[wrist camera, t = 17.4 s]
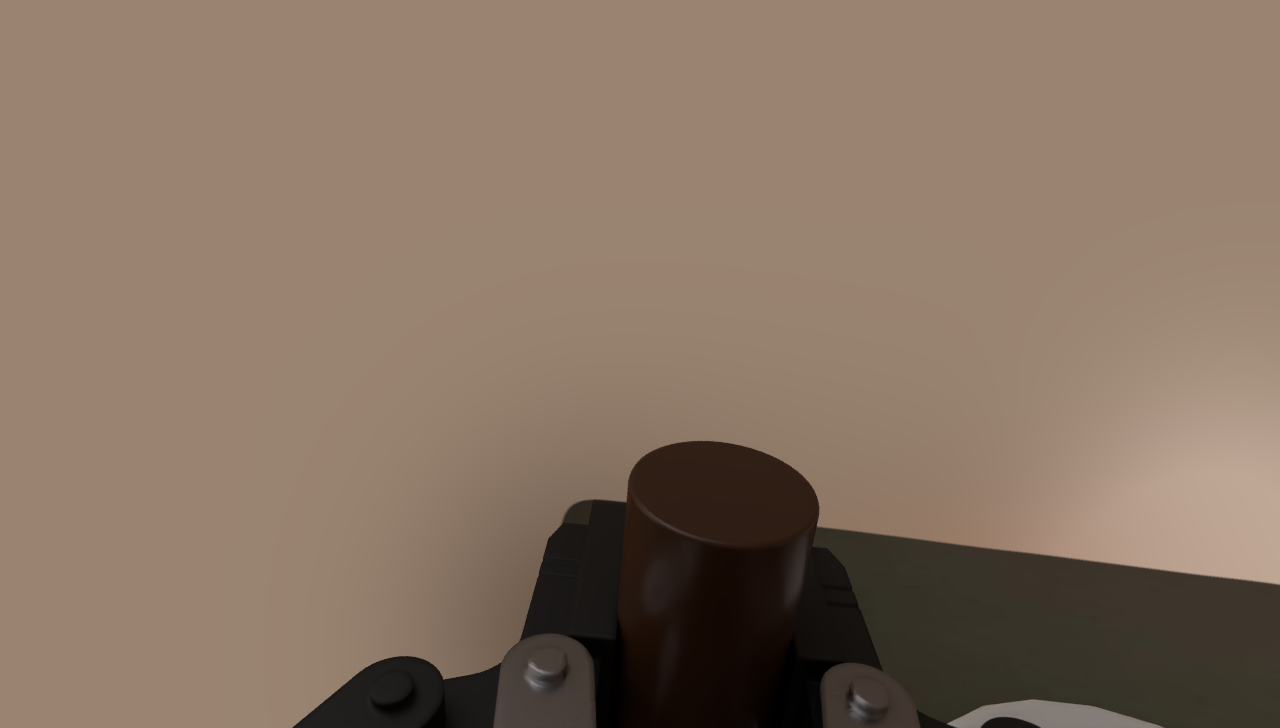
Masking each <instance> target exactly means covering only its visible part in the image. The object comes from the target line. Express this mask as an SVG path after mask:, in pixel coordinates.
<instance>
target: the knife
mask: <svg viewBox="0 0 1280 728" xmlns="http://www.w3.org/2000/svg"><path fill="white" fill-rule="evenodd" d="M818 517H819V503H818V499H817V496H816V494H815V491H814V490H813V488H812V486H811V485H810V483H809V482H808V481H807V480H806V479H805V478H804V477H803V476H802V475H801V474H800V473H799V472H797V471H796V470H795V469H794V468H792V467H791V466H789V465H788V464H786V463H784V462H783V461H781V460H779V459H777V458H775V457H773V456H770V455H768V454H766V453H763V452H761V451H758V450H754V449H751V448H747V447H744V446H740V445H735V444H730V443H723V442H713V441H691V442H682V443H676V444H671V445H667V446H664V447H661V448H658V449H656V450H653V451H652V452H650V453H648V454H646V455H645V456H644V457H642V458H641V459H640V460H639V461H638V462H637V464H636V465H635V466H634V468H633V470H632V471H631V474H630V477H629V480H628V491H627V503H626V514H625V525H624V536H623V547H622V559H621V570H620V581H619V592H618V605H617V612H618V624H617V635H616V646H615V657H614V668H613V679H612V690H611V702H610V713H609V724H608V728H772V726H773V722H774V717H775V713H776V708H777V704H778V699H779V694H780V690H781V685H782V681H783V676H784V672H785V667H786V663H787V658H788V654H789V649H790V645H791V640H792V635H793V631H794V626H795V622H796V617H797V613H798V608H799V604H800V599H801V595H802V590H803V586H804V581H805V576H806V572H807V567H808V563H809V558H810V554H811V549H812V545H813V540H814V536H815V531H816V527H817V522H818Z"/></svg>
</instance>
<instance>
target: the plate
mask: <svg viewBox="0 0 1280 728" xmlns="http://www.w3.org/2000/svg"><path fill="white" fill-rule="evenodd" d="M996 717H1013V718H1017V719H1022V720H1024V721H1027V722H1030V723H1032V724H1035V725H1037V726H1039V727H1041V728H1163V727H1161V726H1159V725H1155V724H1152V723H1148V722H1145V721H1142V720H1138V719H1135V718H1131V717H1128V716H1125V715H1121V714H1118V713H1114V712H1111V711H1108V710H1104V709H1101V708H1097V707H1094V706H1086V705H1077V704H1068V703H1060V702H1051V701H1042V700H1025V701H1018V702H1010V703H1002V704H994V705H986V706H982V707H980V708H978V709H976V710H974V711H972V712H970V713H968V714H966V715H964V716H962V717H960V718H958V719H956V720H954V721H952V722H950V723H948V725H951V726H954V727H957V728H981V726H982V725H983V724H984V723H985V722H986V721H988V720H990V719H993V718H996Z"/></svg>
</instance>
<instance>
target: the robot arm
mask: <svg viewBox="0 0 1280 728" xmlns="http://www.w3.org/2000/svg"><path fill="white" fill-rule="evenodd" d="M625 514H626V503H624V502H613V501H603V500H593V504H592V509H591V514H590V520H589V525H580V524H570V523H563V524H562V525H561V526H560V527H559V528H558V529H557V530H556V531H555V532H554V534H552V536H551V537H549V539H548V542H547V546H546V549H545V553H544V556H543V562H542V564H541V567H540V571H539V576H538V578H537V582H536V585H535V589H534V593H533V596H532V600H531V603H530V607H529V611H528V614H527V618H526V622H525V626H524V629H523V632H522V636H521V639H520V641H519V642H518V643H517V644H516V645H514V646H513V647H512V648H511V649H510V650H509V651H508V653H507V654H506V655H505V657H504V659H503V661H502V662H501V663H500V664H498V665H496V666H494V667H493V668H491V669H489V670H486V671H483V672H480V673H476V674H472V675H467V676H461V677H456V678H450V679H445V680H443V677H442V675H441V673H440V671H439V670H438V669H437V668H436V667H435V666H434V665H433V664H431V663H430V662H428V661H426V660H424V659H420V658H417V657H409V656H404V657H403V656H399V657H393V658H388V659H384V660H381V661H379V662H376V663H374V664H372V665H370V666H368V667H366V668H365V669H363V670H362V671H361V672H359V673H358V674H357V675H355V676H354V677H353V678H352V679H351V680H349V681H348V682H347V683H346V684H345V685H343V686H342V687H341V688H340V689H338V690H337V691H336V692H335V693H334V694H332V695H331V696H330V697H329V698H328V699H326V700H325V701H324V702H323V703H322V704H320V705H319V706H318V707H317V708H316V709H314V710H313V711H312V712H311V713H310V714H308V715H307V716H306V717H305V718H303V719H302V720H301V721H300V722H299V723H298V724H296V725H295V726H294V727H293V728H608V724H609V713H610V702H611V690H612V679H613V668H614V657H615V646H616V635H617V624H618V612H617V605H618V592H619V581H620V570H621V559H622V547H623V536H624V525H625ZM772 728H957V727H954V726H951V725H948V724H946V723H943V722H940V721H938V720H935V719H933V718H931V717H928V716H927V715H925V714H923V713H921V712H919V711H918V710H916V708H915V705H914V702H913V700H912V698H911V697H910V695H909V694H908V692H907V691H906V690H905V689H904V688H903V687H902V686H901V684H900V683H898V682H897V681H896V680H895V679H894V678H892V677H891V676H889V675H888V674H886V673H884V672H883V670H882V667H881V665H880V662H879V659H878V656H877V654H876V651H875V648H874V646H873V643H872V640H871V637H870V635H869V632H868V629H867V627H866V624H865V621H864V618H863V616H862V613H861V610H860V609H858V602H857V599H856V597H855V594H854V592H852V586H851V583H850V580H849V578H848V575H847V572H846V570H845V567H844V566H843V565H842V564H841V563H840V562H839V561H838V560H837V558H836V557H835V556H834V555H833V554H832V553H831V552H830V551H829V550H828V549H827V548H817V547H812V549H811V554H810V558H809V563H808V567H807V572H806V576H805V581H804V586H803V590H802V595H801V599H800V604H799V608H798V613H797V617H796V622H795V626H794V631H793V635H792V640H791V645H790V649H789V654H788V658H787V663H786V667H785V672H784V676H783V681H782V685H781V690H780V694H779V699H778V704H777V708H776V713H775V717H774V722H773V726H772ZM981 728H1041V727H1039V726H1037V725H1035V724H1032V723H1030V722H1027V721H1024V720H1022V719H1017V718H1013V717H996V718H993V719H990V720H988V721H986V722H985V723H984V724H983V725H982V726H981Z"/></svg>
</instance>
